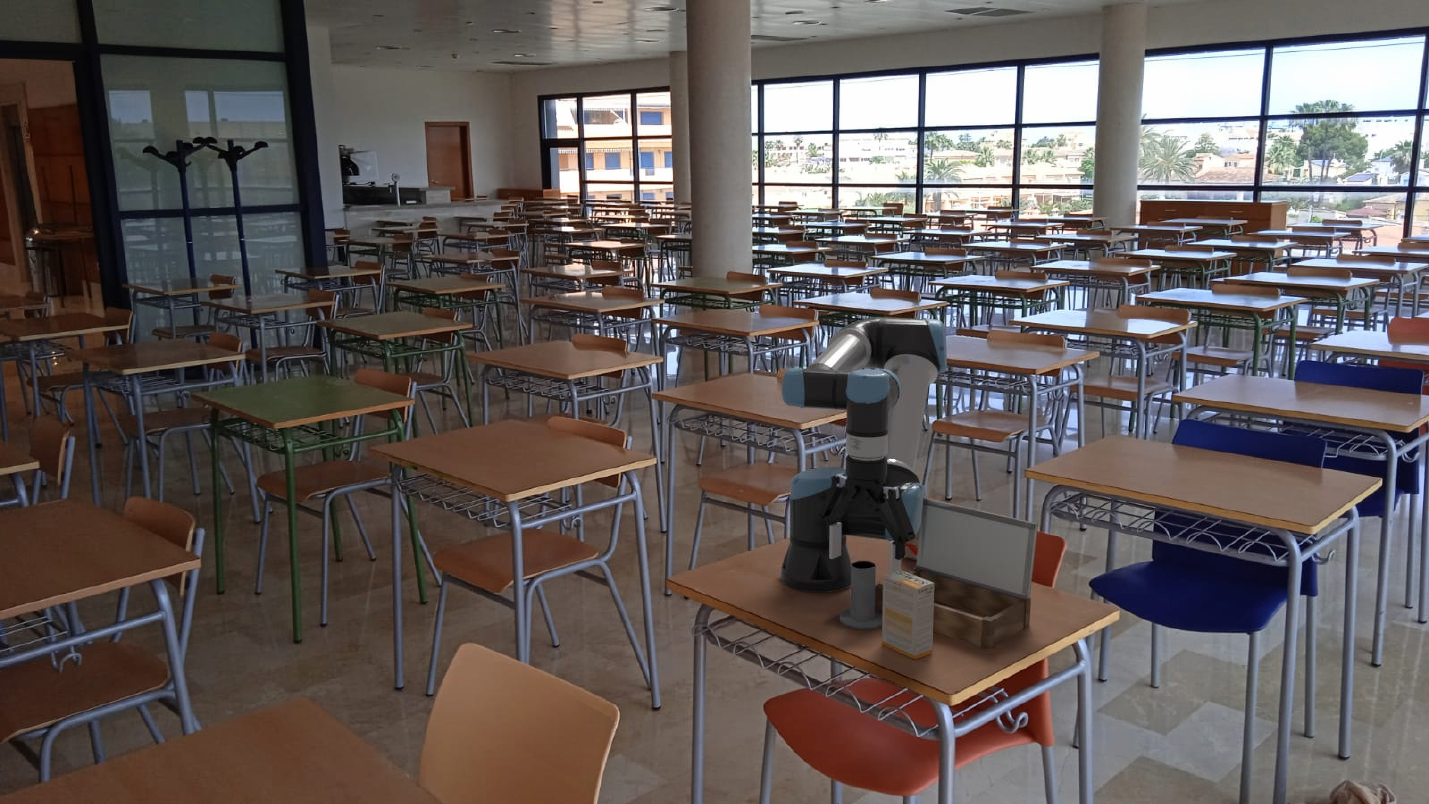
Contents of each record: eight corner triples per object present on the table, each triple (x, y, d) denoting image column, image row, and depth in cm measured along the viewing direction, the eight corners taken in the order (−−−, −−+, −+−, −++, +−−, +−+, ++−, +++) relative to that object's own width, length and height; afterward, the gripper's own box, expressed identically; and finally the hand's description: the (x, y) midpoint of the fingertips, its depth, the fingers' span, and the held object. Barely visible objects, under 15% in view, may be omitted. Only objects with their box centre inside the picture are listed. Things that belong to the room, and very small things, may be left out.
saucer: (830, 621, 197) (830, 617, 196) (857, 608, 203) (857, 604, 202) (867, 633, 191) (867, 629, 191) (894, 620, 197) (894, 616, 197)
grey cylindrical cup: (845, 617, 196) (846, 565, 194) (859, 610, 200) (860, 558, 198) (865, 623, 193) (866, 570, 191) (879, 616, 197) (880, 564, 195)
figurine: (943, 558, 230) (941, 508, 226) (921, 569, 226) (919, 518, 222) (912, 545, 237) (910, 497, 233) (891, 555, 233) (888, 506, 230)
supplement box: (933, 653, 183) (936, 582, 180) (914, 660, 180) (916, 588, 177) (899, 637, 189) (901, 568, 187) (880, 644, 186) (882, 574, 184)
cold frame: (873, 612, 201) (874, 585, 199) (916, 591, 211) (917, 566, 210) (989, 650, 184) (990, 621, 183) (1029, 625, 194) (1030, 598, 193)
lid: (922, 498, 207) (925, 497, 208) (914, 569, 209) (918, 568, 210) (1034, 524, 191) (1038, 523, 192) (1026, 601, 192) (1029, 599, 193)
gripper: (800, 447, 196) (799, 554, 201) (913, 472, 179) (909, 589, 184) (825, 440, 202) (823, 544, 206) (937, 463, 185) (933, 577, 189)
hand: (864, 565), depth 195 cm, fingers open, 13 cm apart
